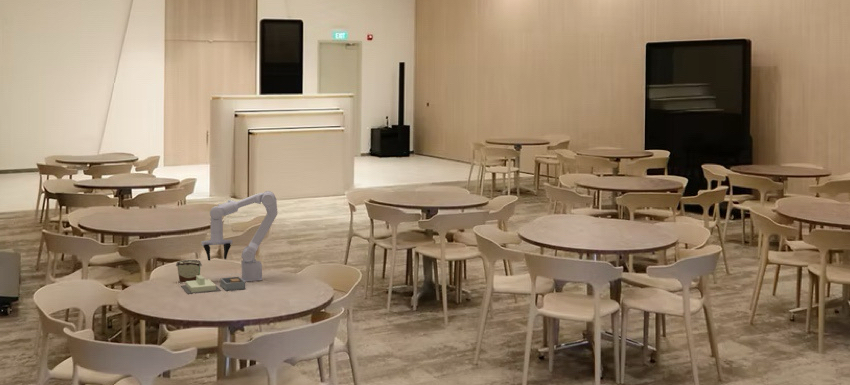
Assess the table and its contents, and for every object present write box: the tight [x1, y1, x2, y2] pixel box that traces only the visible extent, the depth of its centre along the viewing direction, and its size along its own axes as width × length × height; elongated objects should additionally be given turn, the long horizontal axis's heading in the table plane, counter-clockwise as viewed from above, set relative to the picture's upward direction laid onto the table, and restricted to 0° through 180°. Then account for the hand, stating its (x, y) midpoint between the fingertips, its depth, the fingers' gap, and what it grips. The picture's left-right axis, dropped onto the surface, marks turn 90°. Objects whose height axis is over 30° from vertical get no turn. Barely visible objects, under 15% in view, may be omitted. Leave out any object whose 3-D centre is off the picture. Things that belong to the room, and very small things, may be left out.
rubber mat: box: [180, 284, 222, 295], centre depth 430 cm, size 15×18×1 cm
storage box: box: [219, 276, 246, 292], centre depth 432 cm, size 9×13×4 cm
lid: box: [185, 274, 217, 292], centre depth 430 cm, size 11×15×5 cm
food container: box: [175, 259, 203, 283], centre depth 446 cm, size 12×6×10 cm, turn 84°
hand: (217, 259), depth 445 cm, fingers open, 7 cm apart
